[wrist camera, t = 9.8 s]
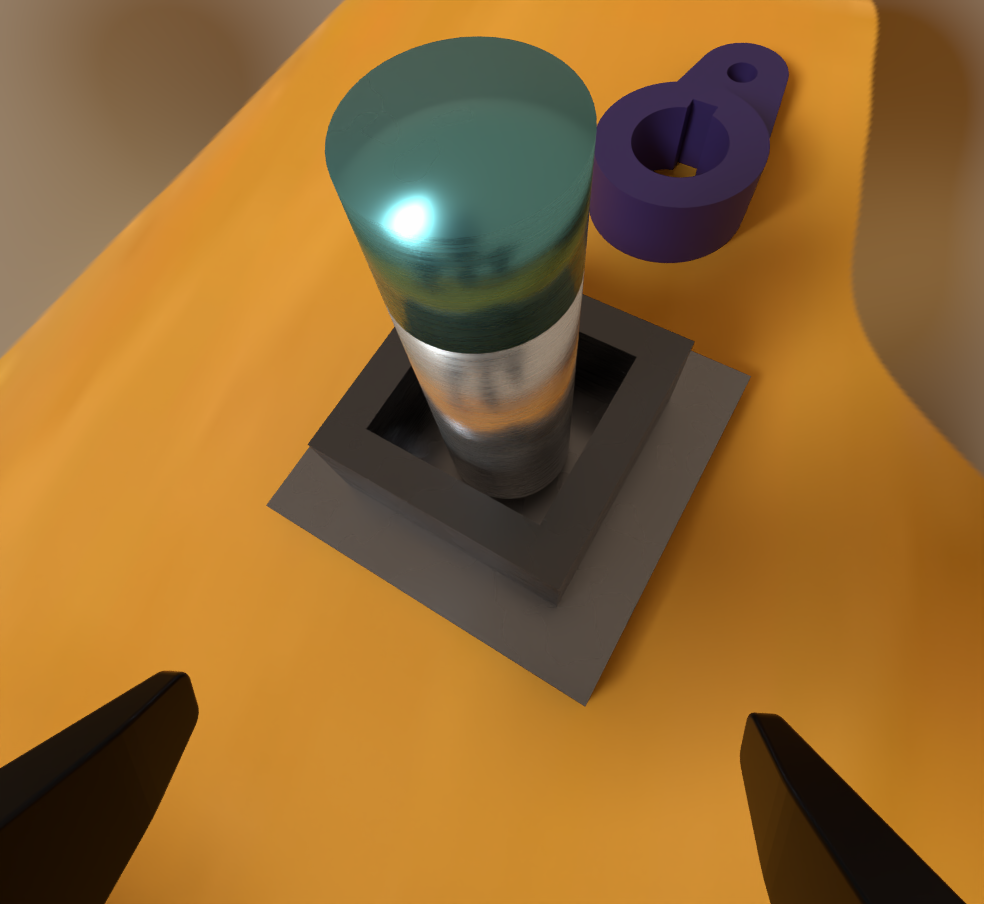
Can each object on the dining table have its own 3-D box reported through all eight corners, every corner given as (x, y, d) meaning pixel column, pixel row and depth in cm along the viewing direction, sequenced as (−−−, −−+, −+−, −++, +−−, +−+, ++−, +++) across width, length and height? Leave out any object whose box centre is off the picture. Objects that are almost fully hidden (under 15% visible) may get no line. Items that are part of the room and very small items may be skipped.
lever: (702, 290, 23) (724, 232, 20) (561, 232, 24) (562, 170, 21) (819, 93, 26) (853, 18, 23) (686, 54, 28) (702, -21, 25)
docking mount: (741, 390, 21) (791, 316, 16) (583, 705, 17) (594, 712, 13) (458, 266, 24) (439, 177, 20) (279, 513, 20) (210, 470, 16)
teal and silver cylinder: (593, 449, 19) (656, 130, 8) (499, 523, 19) (426, 287, 7) (518, 368, 21) (484, 2, 10) (427, 435, 20) (277, 126, 9)
